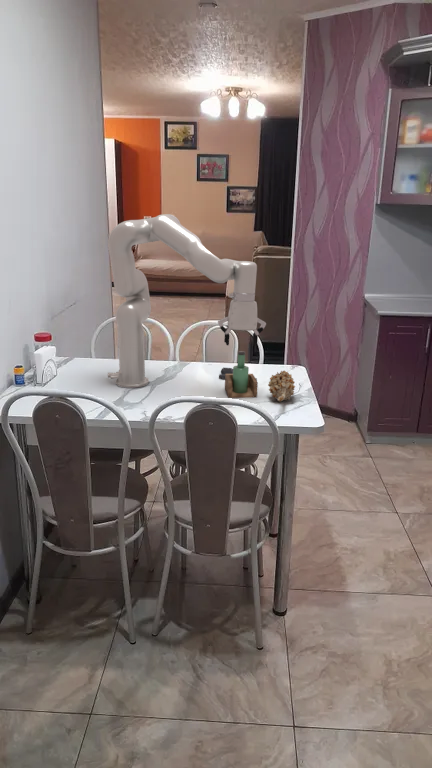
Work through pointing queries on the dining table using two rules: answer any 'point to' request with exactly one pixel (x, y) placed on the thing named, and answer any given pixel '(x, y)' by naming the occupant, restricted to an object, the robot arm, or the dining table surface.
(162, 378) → the dining table surface
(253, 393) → the wooden square tray
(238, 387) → the bottle
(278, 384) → the pine cone
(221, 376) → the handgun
